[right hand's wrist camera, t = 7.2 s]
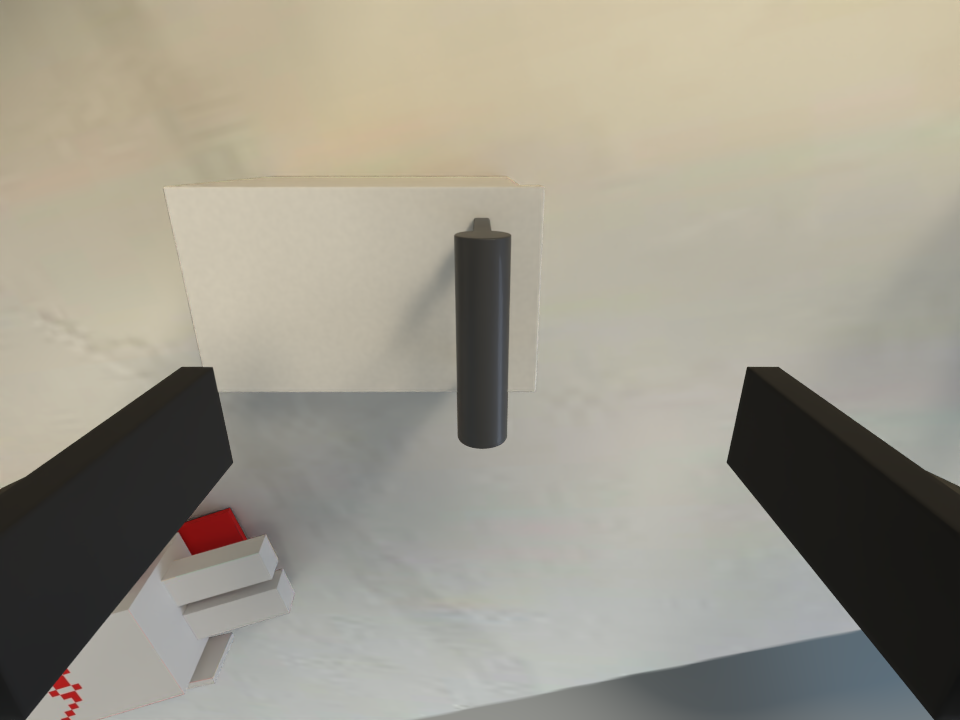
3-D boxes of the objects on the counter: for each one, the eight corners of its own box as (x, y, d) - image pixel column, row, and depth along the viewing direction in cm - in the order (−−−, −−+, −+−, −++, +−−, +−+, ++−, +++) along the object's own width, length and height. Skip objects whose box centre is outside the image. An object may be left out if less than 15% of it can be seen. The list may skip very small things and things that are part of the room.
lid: (541, 185, 23) (574, 199, 15) (533, 382, 27) (555, 475, 19) (178, 185, 23) (22, 199, 15) (219, 382, 27) (111, 476, 19)
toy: (289, 689, 38) (-121, 812, 36) (319, 561, 50) (15, 650, 49) (221, 564, 33) (-248, 700, 32) (272, 459, 46) (-63, 553, 44)
